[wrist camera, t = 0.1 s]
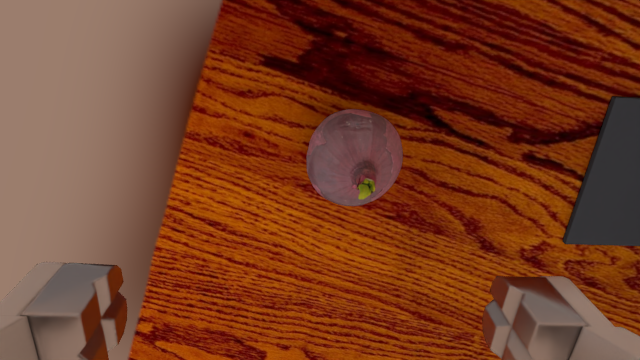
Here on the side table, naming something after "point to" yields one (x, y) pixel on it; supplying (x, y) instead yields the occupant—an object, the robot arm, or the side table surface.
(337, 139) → the vegetable
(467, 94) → the side table surface
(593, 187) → the mat
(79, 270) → the robot arm
